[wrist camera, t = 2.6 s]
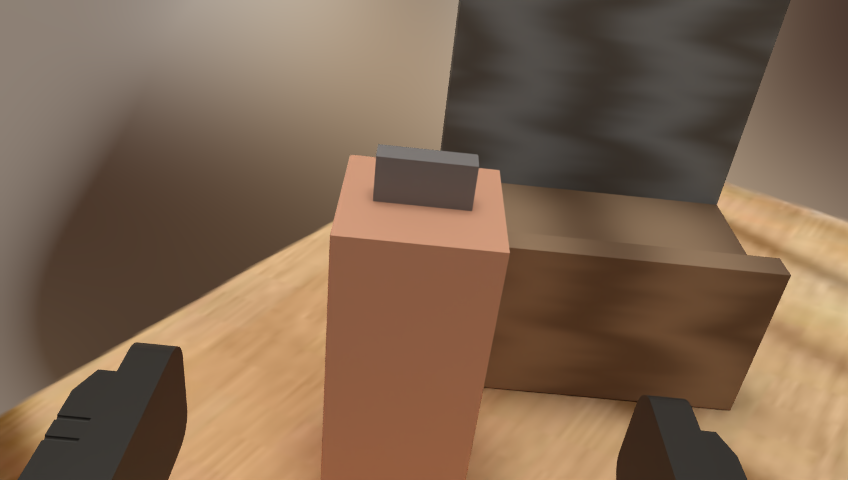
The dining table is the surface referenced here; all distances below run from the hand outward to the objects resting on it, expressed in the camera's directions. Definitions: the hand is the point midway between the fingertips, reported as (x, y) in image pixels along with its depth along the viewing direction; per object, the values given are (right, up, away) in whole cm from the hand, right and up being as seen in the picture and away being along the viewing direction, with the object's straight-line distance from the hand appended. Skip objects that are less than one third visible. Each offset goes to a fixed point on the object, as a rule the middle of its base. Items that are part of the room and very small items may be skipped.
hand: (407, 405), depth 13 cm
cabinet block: (-1, -6, +16) cm, 17 cm away
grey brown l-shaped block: (+7, -2, +24) cm, 25 cm away
